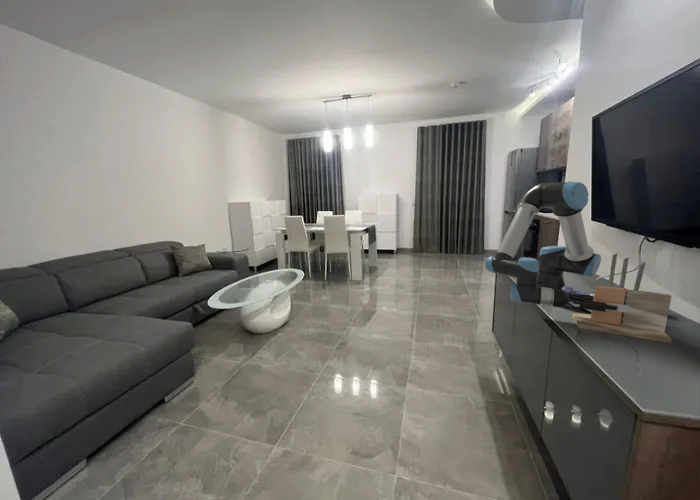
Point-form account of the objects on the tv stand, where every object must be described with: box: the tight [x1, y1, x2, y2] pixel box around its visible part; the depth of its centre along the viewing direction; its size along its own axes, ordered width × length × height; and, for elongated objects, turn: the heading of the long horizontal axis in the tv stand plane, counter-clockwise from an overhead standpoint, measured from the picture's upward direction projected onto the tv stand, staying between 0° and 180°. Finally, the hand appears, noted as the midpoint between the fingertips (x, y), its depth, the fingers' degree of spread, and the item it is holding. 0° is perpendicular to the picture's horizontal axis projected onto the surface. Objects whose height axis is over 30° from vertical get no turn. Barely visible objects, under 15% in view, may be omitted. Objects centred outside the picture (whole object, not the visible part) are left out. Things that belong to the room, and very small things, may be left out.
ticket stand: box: [571, 288, 673, 344], centre depth 114 cm, size 14×26×16 cm, turn 62°
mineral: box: [562, 286, 591, 308], centre depth 138 cm, size 15×10×10 cm
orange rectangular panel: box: [590, 284, 626, 325], centre depth 116 cm, size 2×9×14 cm, turn 62°
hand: (625, 306), depth 113 cm, fingers open, 4 cm apart
